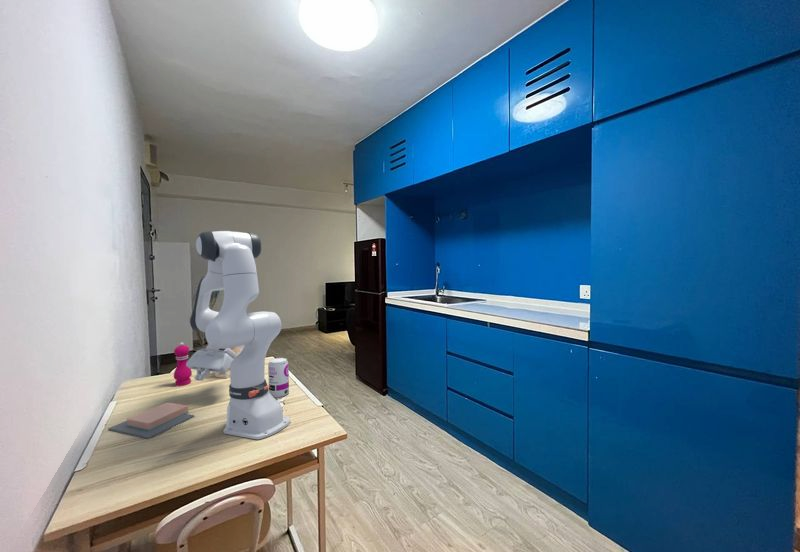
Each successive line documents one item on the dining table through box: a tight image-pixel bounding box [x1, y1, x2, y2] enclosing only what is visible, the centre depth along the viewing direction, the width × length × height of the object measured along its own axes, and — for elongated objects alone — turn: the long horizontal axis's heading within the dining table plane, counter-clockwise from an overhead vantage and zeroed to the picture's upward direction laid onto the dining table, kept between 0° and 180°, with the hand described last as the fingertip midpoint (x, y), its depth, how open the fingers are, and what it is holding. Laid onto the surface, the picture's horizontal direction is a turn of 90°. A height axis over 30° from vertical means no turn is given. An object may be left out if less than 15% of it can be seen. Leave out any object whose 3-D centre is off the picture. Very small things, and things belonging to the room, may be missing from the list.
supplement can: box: [267, 357, 290, 398], centre depth 139 cm, size 8×8×15 cm
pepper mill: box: [173, 341, 193, 387], centre depth 153 cm, size 7×7×20 cm
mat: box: [108, 413, 195, 440], centre depth 115 cm, size 16×20×1 cm
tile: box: [126, 402, 189, 431], centre depth 117 cm, size 2×11×14 cm
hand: (198, 379), depth 132 cm, fingers closed
